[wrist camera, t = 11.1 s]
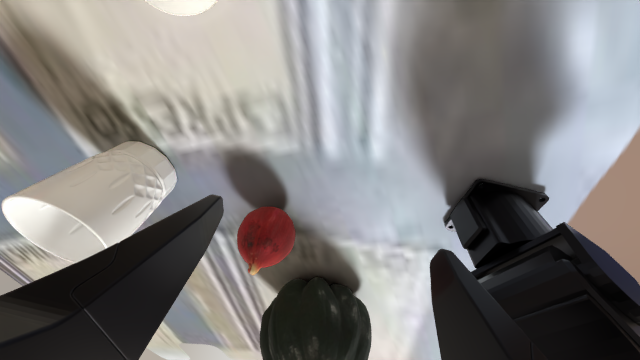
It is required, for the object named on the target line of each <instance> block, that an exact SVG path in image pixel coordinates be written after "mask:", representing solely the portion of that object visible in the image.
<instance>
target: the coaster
mask: <svg viewBox="0 0 640 360" xmlns="http://www.w3.org/2000/svg"><path fill="white" fill-rule="evenodd" d="M145 1H146V2H147V3H149V4H150V5H152V6H153V7H155V8H157V9H159V10H161V11H163V12H166V13H169V14H172V15H178V16H192V15H197V14H200V13H203V12H205V11H207V10H208V9H210V8H211V7H212V6H213V5H214V4H216V3H217V1H218V0H145Z"/></svg>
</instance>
